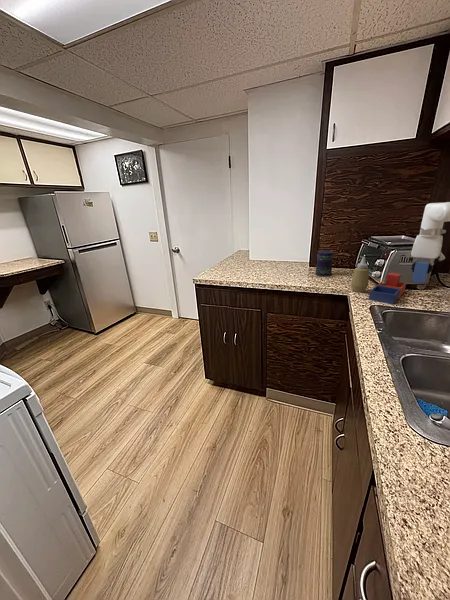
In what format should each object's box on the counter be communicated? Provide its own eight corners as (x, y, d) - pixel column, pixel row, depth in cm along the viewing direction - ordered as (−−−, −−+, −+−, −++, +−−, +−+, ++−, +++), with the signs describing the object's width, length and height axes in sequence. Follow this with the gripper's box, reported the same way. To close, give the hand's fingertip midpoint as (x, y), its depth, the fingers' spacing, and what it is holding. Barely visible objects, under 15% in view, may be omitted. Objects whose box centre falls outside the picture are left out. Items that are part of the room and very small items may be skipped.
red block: (397, 290, 127) (401, 273, 124) (395, 293, 124) (398, 276, 121) (386, 288, 131) (390, 272, 127) (384, 291, 128) (387, 274, 124)
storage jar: (319, 271, 169) (321, 249, 164) (333, 273, 163) (336, 251, 157) (312, 274, 163) (314, 252, 157) (327, 277, 156) (329, 253, 151)
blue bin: (398, 298, 120) (400, 289, 118) (393, 304, 113) (395, 295, 111) (375, 293, 126) (376, 285, 125) (368, 299, 120) (370, 290, 118)
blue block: (426, 280, 118) (430, 262, 115) (424, 283, 115) (428, 263, 111) (413, 279, 121) (417, 260, 118) (411, 281, 118) (415, 262, 115)
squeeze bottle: (349, 287, 136) (353, 255, 130) (365, 288, 134) (371, 255, 127) (351, 292, 129) (356, 258, 123) (368, 293, 127) (374, 258, 120)
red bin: (404, 291, 128) (406, 282, 126) (399, 296, 121) (401, 288, 119) (382, 287, 134) (383, 279, 133) (376, 292, 128) (378, 284, 126)
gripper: (456, 232, 107) (445, 273, 113) (408, 231, 118) (401, 268, 124) (454, 234, 102) (443, 276, 108) (405, 232, 113) (397, 271, 119)
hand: (420, 271), depth 116 cm, fingers closed on blue block, 4 cm apart
